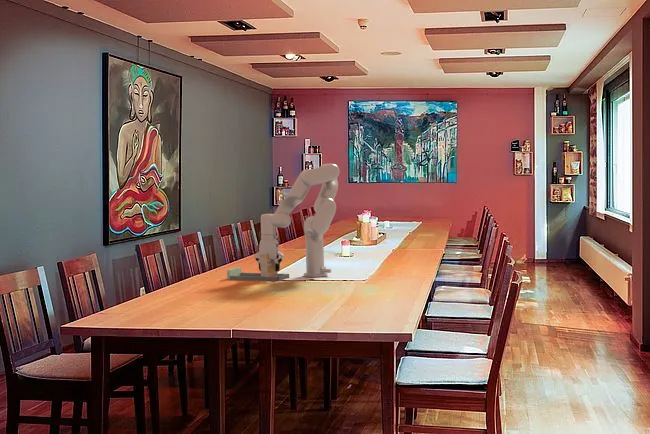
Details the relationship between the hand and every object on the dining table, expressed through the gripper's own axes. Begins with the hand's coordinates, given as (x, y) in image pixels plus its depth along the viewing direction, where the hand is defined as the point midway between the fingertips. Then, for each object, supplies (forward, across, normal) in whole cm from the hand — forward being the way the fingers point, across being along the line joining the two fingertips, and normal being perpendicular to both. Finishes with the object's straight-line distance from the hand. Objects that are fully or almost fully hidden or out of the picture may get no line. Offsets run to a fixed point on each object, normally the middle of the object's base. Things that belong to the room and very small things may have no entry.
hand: (269, 270), depth 405 cm
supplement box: (+4, 0, 0) cm, 4 cm away
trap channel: (+4, +6, 0) cm, 7 cm away
